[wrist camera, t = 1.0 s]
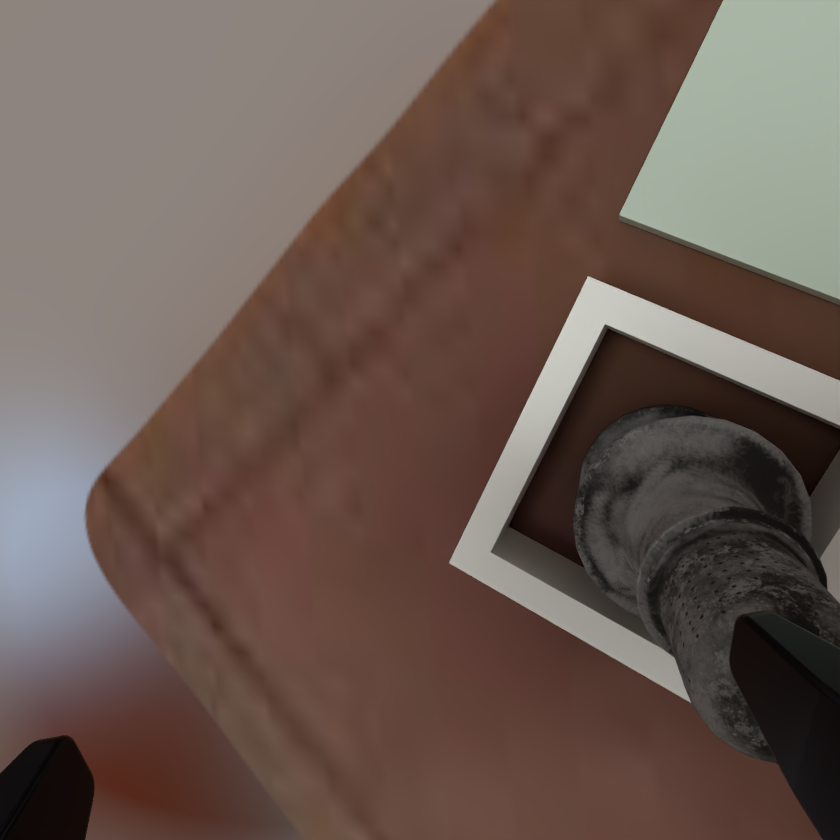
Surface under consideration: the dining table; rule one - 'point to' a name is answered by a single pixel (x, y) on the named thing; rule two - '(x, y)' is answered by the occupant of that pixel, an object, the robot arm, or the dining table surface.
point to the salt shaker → (701, 546)
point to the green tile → (755, 147)
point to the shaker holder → (556, 386)
